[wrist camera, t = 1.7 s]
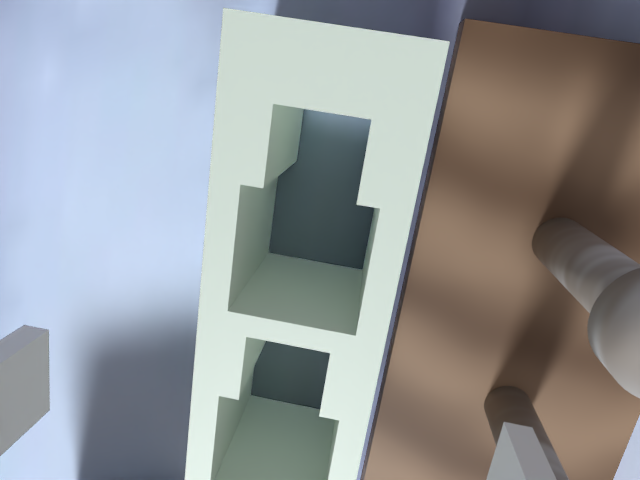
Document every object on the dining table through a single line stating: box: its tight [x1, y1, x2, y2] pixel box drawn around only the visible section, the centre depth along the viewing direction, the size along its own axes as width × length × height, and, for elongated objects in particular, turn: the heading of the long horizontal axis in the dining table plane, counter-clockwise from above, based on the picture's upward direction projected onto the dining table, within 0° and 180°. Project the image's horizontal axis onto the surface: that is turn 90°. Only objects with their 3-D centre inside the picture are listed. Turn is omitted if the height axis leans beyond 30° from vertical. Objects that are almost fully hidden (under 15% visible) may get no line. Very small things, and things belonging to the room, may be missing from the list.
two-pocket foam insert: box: [185, 8, 450, 480], centre depth 21 cm, size 21×7×7 cm, turn 172°
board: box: [361, 19, 640, 480], centre depth 19 cm, size 25×12×11 cm, turn 172°
